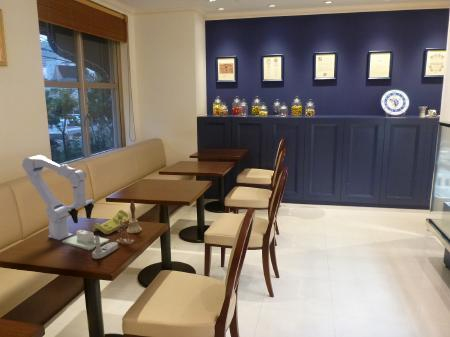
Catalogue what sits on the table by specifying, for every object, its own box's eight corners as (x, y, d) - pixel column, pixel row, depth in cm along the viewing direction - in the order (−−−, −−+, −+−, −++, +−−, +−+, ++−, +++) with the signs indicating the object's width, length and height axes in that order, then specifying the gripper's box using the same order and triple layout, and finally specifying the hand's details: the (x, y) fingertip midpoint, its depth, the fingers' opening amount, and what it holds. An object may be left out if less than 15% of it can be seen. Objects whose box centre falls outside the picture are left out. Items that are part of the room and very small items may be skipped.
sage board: (62, 242, 185) (62, 240, 185) (82, 234, 195) (82, 232, 195) (89, 250, 175) (88, 248, 175) (109, 241, 185) (109, 239, 185)
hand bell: (128, 227, 203) (126, 199, 200) (143, 227, 203) (141, 199, 200) (124, 233, 195) (121, 204, 192) (139, 233, 195) (137, 203, 192)
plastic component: (108, 231, 193) (94, 221, 195) (105, 242, 196) (91, 232, 198) (133, 216, 210) (119, 208, 212) (130, 227, 213) (116, 218, 216)
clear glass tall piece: (115, 242, 183) (113, 219, 181) (120, 239, 187) (118, 216, 184) (130, 244, 180) (128, 221, 178) (135, 241, 183) (133, 218, 181)
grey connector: (75, 239, 186) (74, 231, 185) (81, 237, 189) (80, 229, 188) (93, 244, 180) (92, 236, 179) (99, 241, 183) (98, 233, 182)
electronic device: (118, 228, 177) (98, 239, 163) (120, 247, 178) (100, 260, 164) (109, 227, 178) (88, 237, 164) (111, 246, 180) (90, 258, 166)
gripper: (71, 199, 178) (75, 226, 180) (96, 192, 190) (99, 217, 192) (62, 197, 181) (65, 224, 184) (87, 190, 193) (90, 215, 196)
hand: (82, 220), depth 188 cm, fingers open, 7 cm apart
